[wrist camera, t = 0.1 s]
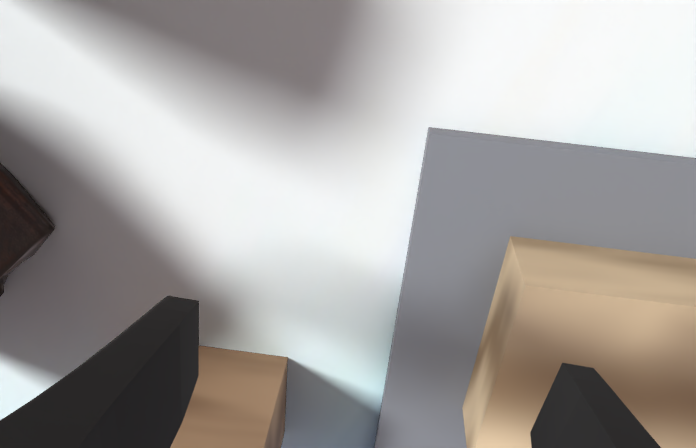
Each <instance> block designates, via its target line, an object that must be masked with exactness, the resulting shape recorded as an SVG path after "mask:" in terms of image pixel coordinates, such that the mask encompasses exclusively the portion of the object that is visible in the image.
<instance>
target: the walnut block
mask: <svg viewBox="0 0 696 448" xmlns="http://www.w3.org/2000/svg"><path fill="white" fill-rule="evenodd" d="M287 363H288V357H281V356H274V355H266V354H259V353H251V352H244V351H236V350H228V349H221V348H213V347H206V346H199V376H198V379H197V382H196V385H195V388H194V391H193V393H192V396H191V399H190V402H189V405H188V408H187V410H186V413H185V416H184V419H183V421H182V424H181V426H180V428H179V430H178V432H177V435H176V437H175V439H174V441H173V443H172V445H171V447H170V448H281V444H282V440H283V436H284V432H285V409H286V386H287Z"/></svg>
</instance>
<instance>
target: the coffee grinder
mask: <svg viewBox="0 0 696 448" xmlns="http://www.w3.org/2000/svg"><path fill="white" fill-rule="evenodd" d="M54 229H55V226H54V224H53V223H52V222H51V221H50V220H49V218H48V217H47V216H46V215H45V214H44V212H43V211H42V210H41V209H40V208H39V206H38V205H37V204H36V203H35V202H34V200H33V199H32V198H31V197H30V196H29V194H28V193H27V192H26V191H25V190H24V188H23V187H22V186H21V185H20V184H19V182H18V181H17V180H16V179H15V178H14V176H13V175H12V174H11V173H10V172H9V171H8V170H7V169H5V168H4V167H3V166H2V165H1V164H0V297H1V295H2V294H3V293H4V286H3V284H4V283H5V281H6V279H7V276H8V274H9V273H10V272H12V271H13V270H14V269H15V268H16V267H18V266H19V265H20V264H21V263H22V262H24V261H25V260H27V259H28V258H30V257H31V256H33V255H34V254H35V253H36V251H37V250H38V249H39V248H40V246H41V245H42V244H43V243H44V241H45V240H46V239H47V238H48V236H49V235H50V234H51V233H52V231H53V230H54Z"/></svg>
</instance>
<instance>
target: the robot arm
mask: <svg viewBox="0 0 696 448" xmlns="http://www.w3.org/2000/svg"><path fill="white" fill-rule="evenodd" d="M198 376H199V301H196V300H190V299H184V298H178V297H172V296H167V297H166V298H164V299H163V300H161V301H160V302H159V303H158V304H157V305H155V306H154V307H153V308H152V309H151V310H149V311H148V312H147V313H146V314H145V315H143V316H142V317H141V318H140V319H139V320H137V321H136V322H135V323H134V324H133V325H131V326H130V327H129V328H128V329H126V330H125V331H124V332H123V333H121V334H120V335H119V336H118V337H117V338H115V339H114V340H113V341H112V342H110V343H109V344H108V345H106V346H105V347H104V348H102V349H101V350H100V351H99V352H97V353H96V354H95V355H93V356H92V357H91V358H90V359H88V360H87V361H86V362H84V363H83V364H82V365H80V366H79V367H78V368H76V369H75V370H74V371H72V372H71V373H70V374H68V375H67V376H65V377H64V378H62V379H61V380H60V381H58V382H57V383H55V384H54V385H53V386H51V387H50V388H48V389H47V390H45V391H44V392H43V393H41V394H40V395H38V396H37V397H36V398H34V399H33V400H31V401H30V402H28V403H27V404H25V405H24V406H22V407H20V408H19V409H17V410H16V411H14V412H13V413H11V414H10V415H8V416H7V417H5V418H3V419H2V420H0V448H170V447H171V445H172V443H173V441H174V439H175V437H176V435H177V432H178V430H179V428H180V426H181V424H182V421H183V419H184V416H185V413H186V410H187V408H188V405H189V402H190V399H191V396H192V393H193V391H194V388H195V385H196V382H197V379H198ZM530 436H531V446H532V448H661V447H660V446H659V445H658V443H657V442H656V441H655V440H654V439H653V438H652V436H651V435H650V434H649V433H648V432H647V430H646V429H645V428H644V427H643V426H642V424H641V423H640V422H639V421H638V420H637V419H636V417H635V416H634V415H633V414H632V413H631V411H630V410H629V409H628V408H627V407H626V405H625V404H624V403H623V402H622V401H621V399H620V398H619V397H618V396H617V395H616V393H615V392H614V391H613V390H612V389H611V387H610V386H609V385H608V384H607V383H606V382H605V380H604V379H603V378H602V377H601V376H600V375H599V374H598V372H597V371H596V370H595V369H594V368H591V367H585V366H579V365H573V364H568V363H562V364H561V367H560V369H559V371H558V373H557V375H556V377H555V380H554V382H553V384H552V386H551V388H550V390H549V393H548V395H547V397H546V399H545V401H544V403H543V406H542V408H541V410H540V412H539V414H538V417H537V419H536V421H535V423H534V425H533V427H532V430H531V432H530Z"/></svg>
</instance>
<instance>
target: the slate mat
mask: <svg viewBox="0 0 696 448" xmlns="http://www.w3.org/2000/svg"><path fill="white" fill-rule="evenodd" d="M510 236H514V237H522V238H530V239H538V240H546V241H554V242H563V243H571V244H579V245H587V246H595V247H603V248H612V249H620V250H628V251H636V252H644V253H652V254H661V255H669V256H677V257H685V258H693V259H696V158H689V157H680V156H672V155H663V154H654V153H646V152H637V151H629V150H620V149H611V148H603V147H594V146H585V145H577V144H568V143H560V142H551V141H542V140H534V139H525V138H516V137H508V136H499V135H491V134H482V133H473V132H465V131H456V130H447V129H439V128H430V127H429V128H428V134H427V140H426V146H425V152H424V158H423V164H422V169H421V175H420V181H419V187H418V193H417V199H416V205H415V211H414V216H413V222H412V228H411V234H410V240H409V246H408V252H407V258H406V263H405V269H404V275H403V281H402V287H401V293H400V299H399V305H398V310H397V316H396V322H395V328H394V334H393V340H392V346H391V352H390V357H389V363H388V369H387V375H386V381H385V387H384V393H383V399H382V404H381V410H380V416H379V422H378V428H377V434H376V440H375V446H374V448H467V446H466V436H465V427H464V418H463V409H462V407H463V404H464V400H465V397H466V393H467V390H468V386H469V382H470V379H471V375H472V372H473V368H474V364H475V361H476V357H477V354H478V350H479V346H480V343H481V339H482V336H483V332H484V329H485V325H486V321H487V318H488V314H489V311H490V307H491V303H492V300H493V296H494V293H495V289H496V286H497V282H498V278H499V275H500V271H501V268H502V264H503V260H504V257H505V253H506V250H507V246H508V242H509V239H510Z"/></svg>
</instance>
